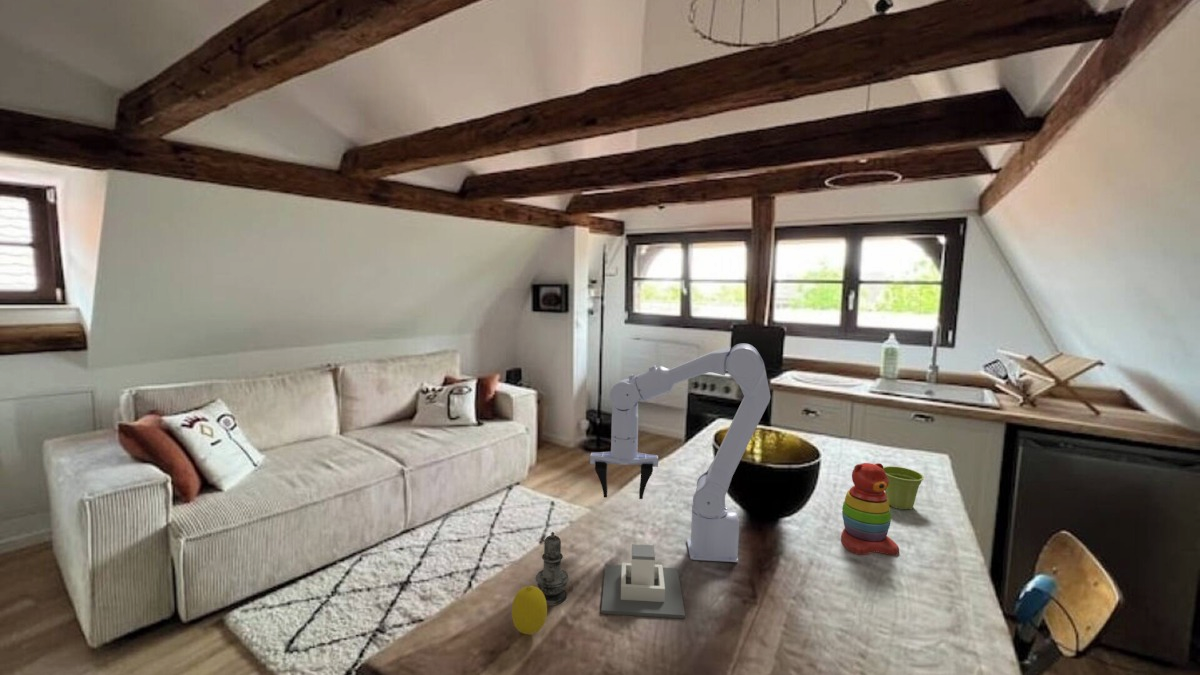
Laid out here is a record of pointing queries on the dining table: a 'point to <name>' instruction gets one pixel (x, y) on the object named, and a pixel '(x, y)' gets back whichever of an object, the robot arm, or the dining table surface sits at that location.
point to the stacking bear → (868, 512)
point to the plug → (642, 565)
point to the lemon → (529, 610)
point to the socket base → (642, 593)
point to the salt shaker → (552, 572)
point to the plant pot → (902, 486)
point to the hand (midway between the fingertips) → (623, 496)
